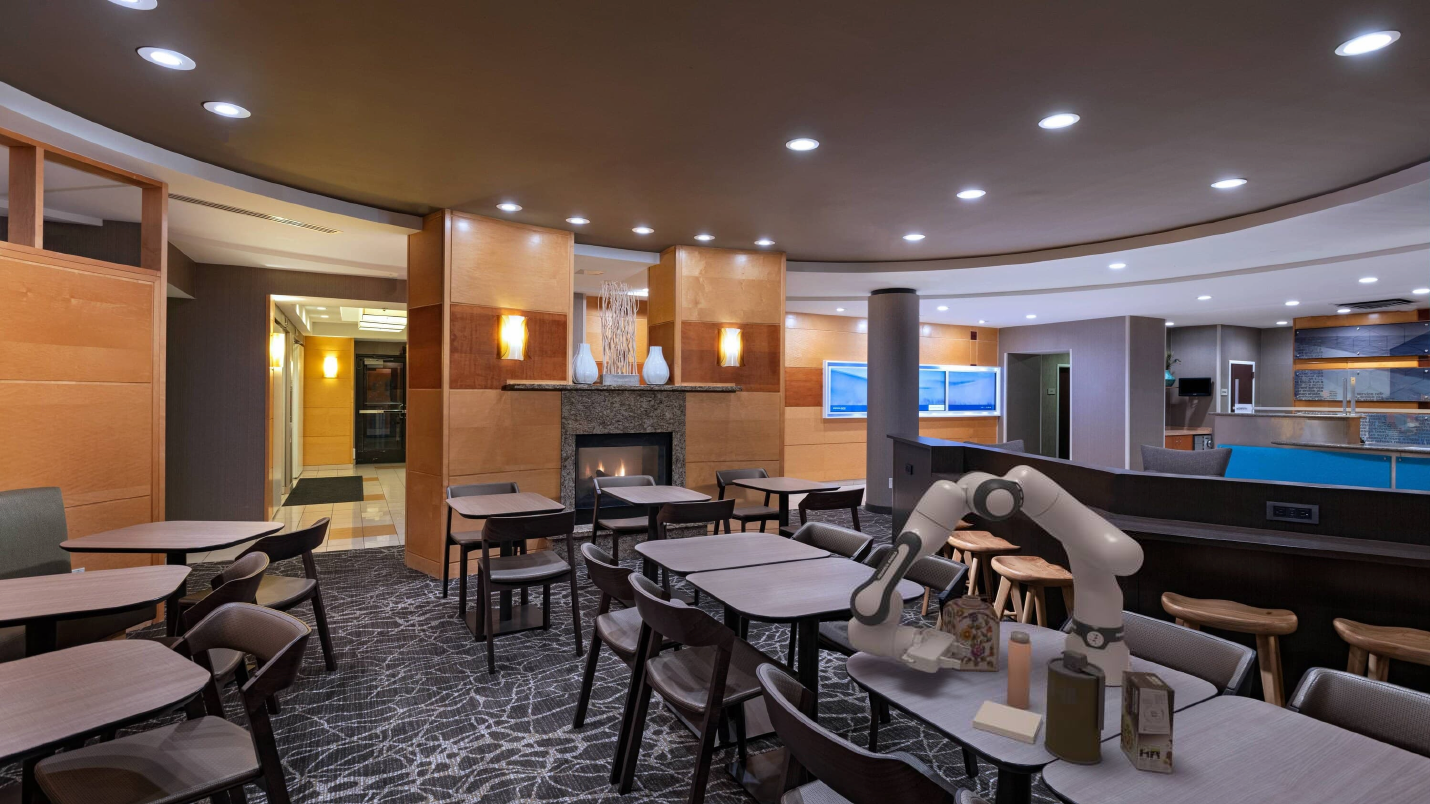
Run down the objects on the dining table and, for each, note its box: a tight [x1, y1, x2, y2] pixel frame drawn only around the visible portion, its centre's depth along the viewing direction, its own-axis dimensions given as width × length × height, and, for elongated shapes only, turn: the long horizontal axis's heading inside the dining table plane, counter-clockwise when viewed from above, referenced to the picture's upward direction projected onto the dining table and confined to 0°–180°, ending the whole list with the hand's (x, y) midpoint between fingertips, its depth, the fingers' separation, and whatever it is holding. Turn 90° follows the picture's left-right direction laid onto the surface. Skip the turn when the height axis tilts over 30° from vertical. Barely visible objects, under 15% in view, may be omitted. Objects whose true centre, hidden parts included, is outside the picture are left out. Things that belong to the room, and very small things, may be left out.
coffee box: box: [1119, 671, 1176, 774], centre depth 137 cm, size 9×6×16 cm
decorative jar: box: [941, 594, 1001, 673], centre depth 184 cm, size 12×12×18 cm
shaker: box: [1006, 630, 1032, 710], centre depth 160 cm, size 5×5×17 cm
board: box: [972, 700, 1043, 745], centre depth 150 cm, size 12×12×2 cm
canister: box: [1043, 650, 1106, 766], centre depth 139 cm, size 11×10×20 cm
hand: (965, 658), depth 167 cm, fingers open, 8 cm apart
